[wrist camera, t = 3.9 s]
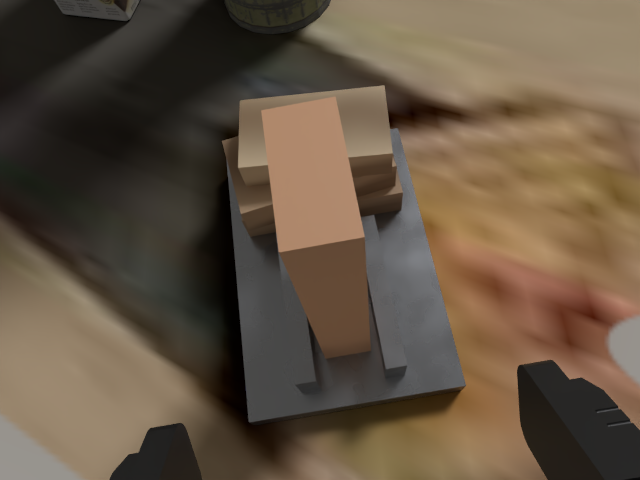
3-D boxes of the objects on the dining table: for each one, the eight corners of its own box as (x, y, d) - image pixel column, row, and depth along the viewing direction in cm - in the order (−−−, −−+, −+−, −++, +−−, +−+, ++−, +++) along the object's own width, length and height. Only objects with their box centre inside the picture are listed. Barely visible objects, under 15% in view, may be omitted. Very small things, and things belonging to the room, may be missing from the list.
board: (370, 351, 27) (364, 237, 14) (325, 358, 27) (278, 252, 14) (354, 263, 29) (335, 96, 16) (311, 270, 29) (261, 110, 16)
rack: (461, 390, 27) (474, 376, 23) (255, 425, 27) (236, 417, 24) (396, 142, 34) (399, 102, 30) (232, 172, 34) (215, 136, 31)
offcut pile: (403, 219, 30) (409, 164, 25) (246, 247, 30) (218, 199, 25) (383, 136, 32) (384, 70, 27) (237, 163, 33) (211, 103, 27)
